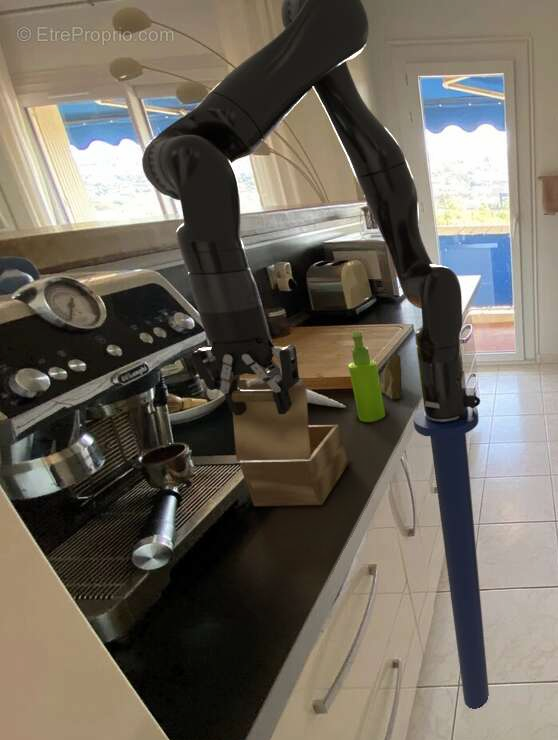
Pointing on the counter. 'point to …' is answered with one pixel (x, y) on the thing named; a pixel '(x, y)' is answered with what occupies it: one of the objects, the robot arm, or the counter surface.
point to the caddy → (299, 472)
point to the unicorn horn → (321, 399)
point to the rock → (392, 378)
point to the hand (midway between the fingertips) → (262, 412)
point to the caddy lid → (271, 423)
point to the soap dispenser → (365, 382)
